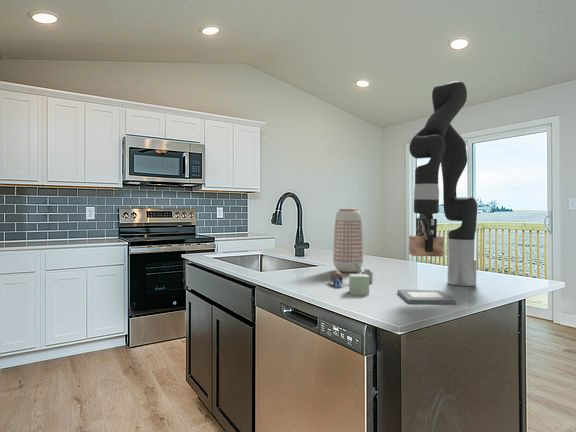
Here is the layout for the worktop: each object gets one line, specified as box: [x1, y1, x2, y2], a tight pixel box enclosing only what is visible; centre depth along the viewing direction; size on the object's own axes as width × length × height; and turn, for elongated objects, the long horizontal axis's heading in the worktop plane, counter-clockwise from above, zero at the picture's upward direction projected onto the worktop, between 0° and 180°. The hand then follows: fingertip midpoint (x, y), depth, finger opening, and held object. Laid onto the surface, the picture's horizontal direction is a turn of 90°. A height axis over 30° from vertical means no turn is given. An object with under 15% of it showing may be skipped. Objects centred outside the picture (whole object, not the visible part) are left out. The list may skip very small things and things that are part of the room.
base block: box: [408, 234, 444, 257], centre depth 123 cm, size 9×6×6 cm
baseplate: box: [397, 289, 457, 305], centre depth 124 cm, size 14×14×1 cm
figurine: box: [329, 270, 346, 289], centre depth 145 cm, size 6×5×12 cm
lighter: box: [354, 262, 374, 284], centre depth 149 cm, size 7×2×8 cm, turn 74°
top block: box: [348, 273, 370, 295], centre depth 132 cm, size 6×5×6 cm
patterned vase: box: [332, 208, 364, 274], centre depth 175 cm, size 13×13×28 cm
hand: (425, 250), depth 124 cm, fingers closed on base block, 6 cm apart
